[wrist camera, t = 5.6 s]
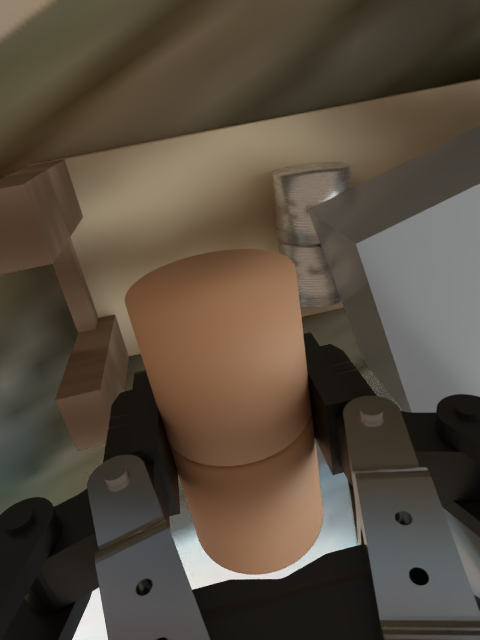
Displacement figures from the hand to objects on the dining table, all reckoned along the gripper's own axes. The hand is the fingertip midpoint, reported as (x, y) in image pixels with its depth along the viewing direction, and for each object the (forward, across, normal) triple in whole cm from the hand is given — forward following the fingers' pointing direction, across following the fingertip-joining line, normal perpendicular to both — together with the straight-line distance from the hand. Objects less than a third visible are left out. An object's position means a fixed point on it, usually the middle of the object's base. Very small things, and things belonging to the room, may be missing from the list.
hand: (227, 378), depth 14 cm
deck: (+15, -6, 0) cm, 16 cm away
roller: (0, +1, 0) cm, 1 cm away
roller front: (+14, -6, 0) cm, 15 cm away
